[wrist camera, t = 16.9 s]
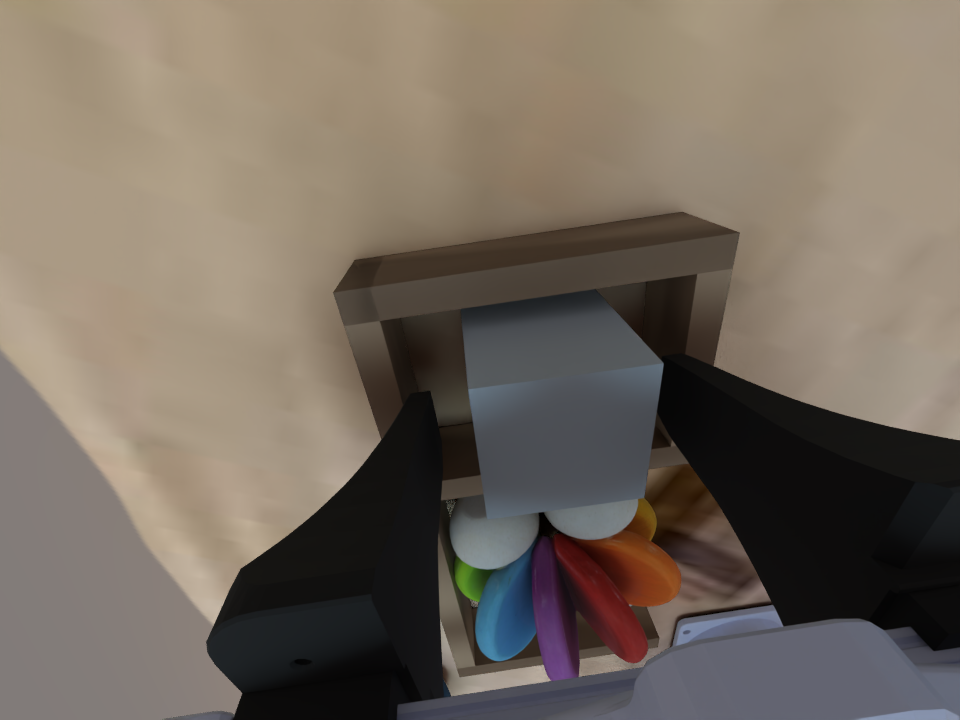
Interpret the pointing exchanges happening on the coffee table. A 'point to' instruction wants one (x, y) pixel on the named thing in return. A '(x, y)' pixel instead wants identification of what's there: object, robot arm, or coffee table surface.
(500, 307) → the block
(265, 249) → the coffee table surface
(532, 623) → the rainbow petal rattle
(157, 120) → the coffee table surface
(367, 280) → the frame
